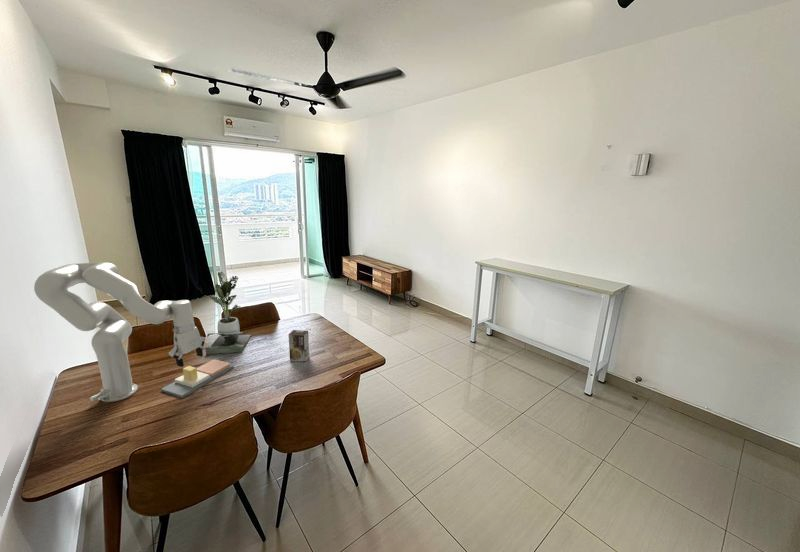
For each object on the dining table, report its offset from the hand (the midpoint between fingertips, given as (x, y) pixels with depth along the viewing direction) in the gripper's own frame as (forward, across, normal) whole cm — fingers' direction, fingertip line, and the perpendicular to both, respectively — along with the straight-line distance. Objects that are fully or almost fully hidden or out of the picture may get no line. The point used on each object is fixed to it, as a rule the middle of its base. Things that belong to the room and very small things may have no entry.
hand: (190, 360), depth 147 cm
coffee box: (+14, +39, -31) cm, 51 cm away
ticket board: (+12, +4, +1) cm, 12 cm away
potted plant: (+12, +37, +17) cm, 42 cm away
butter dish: (+10, 0, +1) cm, 10 cm away
